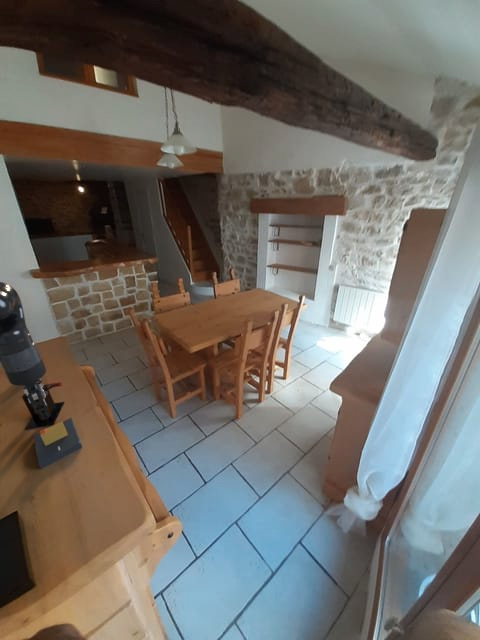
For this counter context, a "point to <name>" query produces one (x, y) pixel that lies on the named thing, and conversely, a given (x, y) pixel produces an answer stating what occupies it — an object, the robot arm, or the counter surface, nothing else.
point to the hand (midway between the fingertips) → (43, 408)
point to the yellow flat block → (53, 433)
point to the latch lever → (53, 385)
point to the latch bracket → (52, 407)
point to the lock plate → (57, 445)
